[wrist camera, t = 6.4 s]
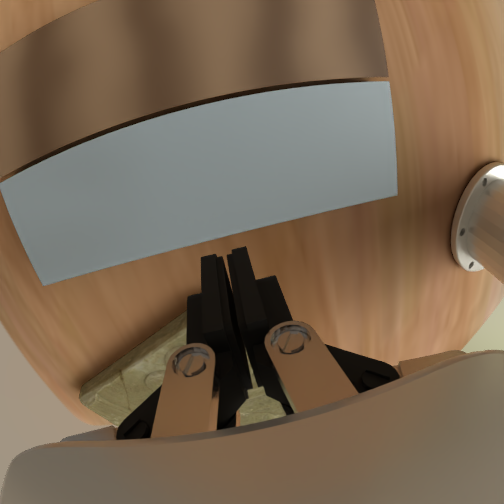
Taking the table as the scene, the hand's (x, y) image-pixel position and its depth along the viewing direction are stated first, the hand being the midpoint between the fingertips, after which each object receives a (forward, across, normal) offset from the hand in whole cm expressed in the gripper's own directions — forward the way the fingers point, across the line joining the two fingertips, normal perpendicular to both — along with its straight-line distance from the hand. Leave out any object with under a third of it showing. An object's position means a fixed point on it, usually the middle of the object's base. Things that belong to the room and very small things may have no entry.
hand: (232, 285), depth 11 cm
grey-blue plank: (+10, +1, -2) cm, 10 cm away
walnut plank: (+10, +1, -11) cm, 15 cm away
